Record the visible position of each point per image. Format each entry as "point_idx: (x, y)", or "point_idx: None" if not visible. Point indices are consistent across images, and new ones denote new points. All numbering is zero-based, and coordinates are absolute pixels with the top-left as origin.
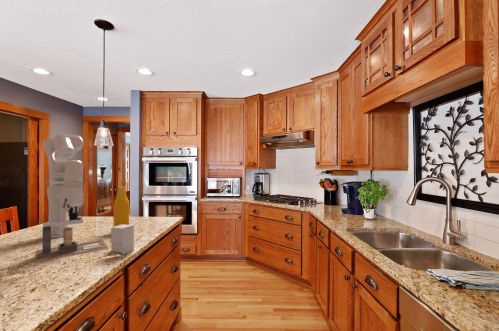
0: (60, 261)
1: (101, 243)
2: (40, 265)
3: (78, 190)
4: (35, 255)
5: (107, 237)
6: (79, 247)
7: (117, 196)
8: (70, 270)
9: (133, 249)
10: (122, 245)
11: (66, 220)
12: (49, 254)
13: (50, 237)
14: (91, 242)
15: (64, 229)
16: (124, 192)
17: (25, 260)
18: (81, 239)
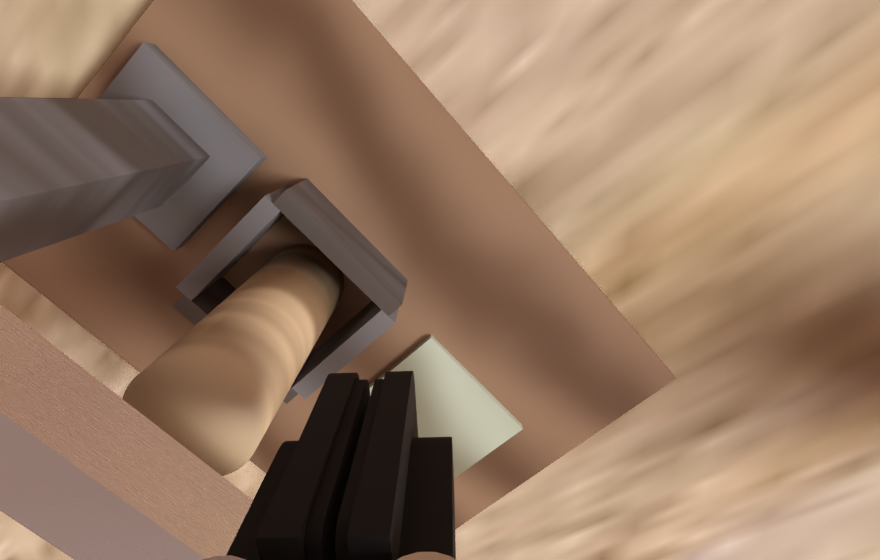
0: (123, 363)
1: (534, 447)
2: (11, 277)
3: None
4: (106, 64)
5: (843, 328)
6: (402, 328)
7: None
8: (20, 530)
9: None
10: None
11: (104, 489)
12: (142, 216)
13: (33, 245)
14: (573, 337)
15: (131, 401)
16: None
17: (49, 16)
18: (814, 59)
